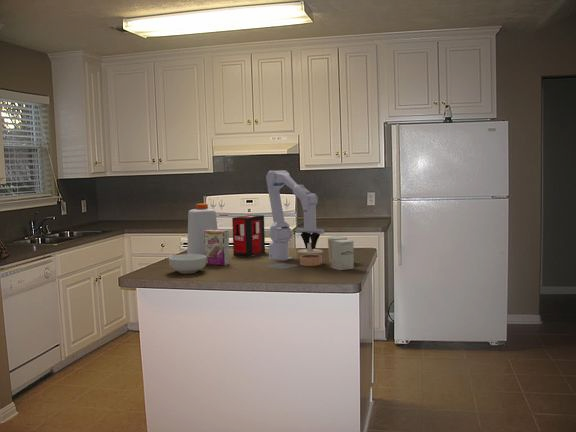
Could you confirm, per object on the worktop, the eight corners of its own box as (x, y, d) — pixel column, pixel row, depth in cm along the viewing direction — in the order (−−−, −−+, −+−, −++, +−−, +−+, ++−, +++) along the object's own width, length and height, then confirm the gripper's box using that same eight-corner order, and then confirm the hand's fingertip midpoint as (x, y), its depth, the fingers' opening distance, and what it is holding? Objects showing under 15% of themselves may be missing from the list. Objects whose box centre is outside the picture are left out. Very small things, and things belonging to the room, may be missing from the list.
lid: (292, 252, 267) (292, 243, 267) (307, 249, 276) (307, 241, 276) (312, 254, 260) (312, 245, 260) (327, 251, 269) (327, 242, 269)
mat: (263, 267, 264) (263, 266, 264) (278, 263, 274) (278, 262, 274) (283, 270, 257) (283, 269, 257) (299, 265, 267) (299, 264, 267)
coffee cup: (346, 264, 267) (346, 238, 266) (326, 264, 269) (326, 238, 268) (348, 260, 277) (348, 236, 275) (329, 260, 278) (328, 236, 277)
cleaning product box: (247, 257, 295) (246, 218, 293) (233, 256, 299) (232, 217, 297) (265, 252, 309) (263, 215, 307) (251, 251, 314) (250, 215, 312)
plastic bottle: (213, 255, 304) (211, 202, 301) (222, 259, 290) (220, 204, 287) (185, 257, 297) (183, 203, 295) (193, 262, 284) (191, 205, 281)
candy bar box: (204, 264, 276) (203, 230, 274) (210, 262, 280) (209, 229, 279) (224, 265, 271) (223, 231, 270) (230, 264, 276) (228, 230, 274)
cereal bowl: (189, 277, 246) (188, 260, 246) (161, 274, 255) (160, 258, 254) (214, 270, 261) (214, 254, 260) (187, 267, 269) (186, 252, 269)
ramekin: (295, 265, 268) (295, 256, 268) (308, 262, 276) (307, 253, 276) (313, 267, 262) (313, 258, 262) (325, 263, 270) (325, 255, 270)
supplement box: (340, 270, 252) (339, 242, 251) (331, 268, 259) (330, 240, 258) (354, 268, 256) (353, 240, 255) (345, 266, 262) (344, 239, 261)
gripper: (292, 219, 268) (292, 248, 269) (318, 221, 259) (318, 250, 261) (300, 218, 274) (301, 246, 275) (326, 219, 265) (327, 248, 266)
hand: (310, 248), depth 268 cm, fingers closed on lid, 3 cm apart
